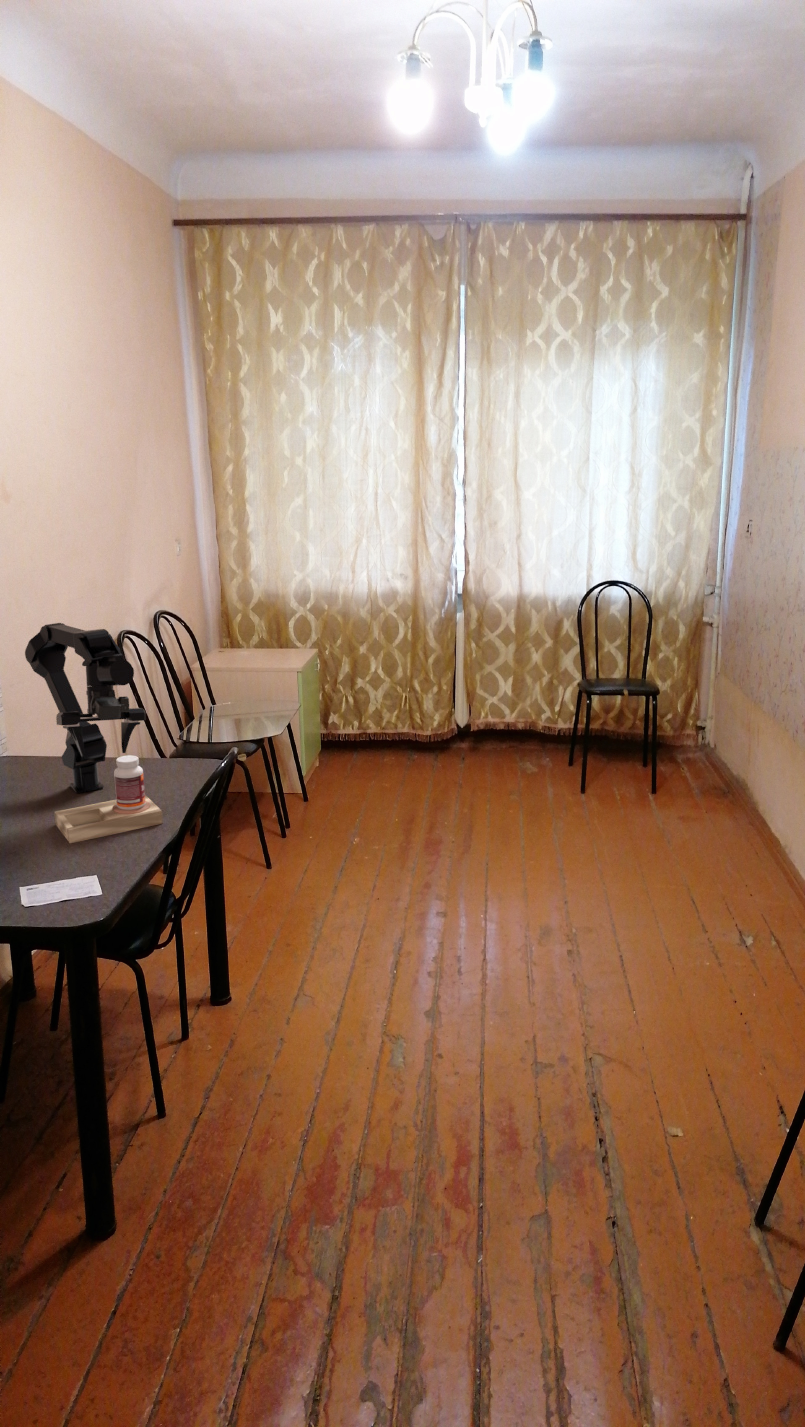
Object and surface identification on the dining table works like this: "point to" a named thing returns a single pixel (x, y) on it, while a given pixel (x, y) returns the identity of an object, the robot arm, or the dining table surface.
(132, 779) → the pill bottle
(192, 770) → the dining table surface
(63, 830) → the board
